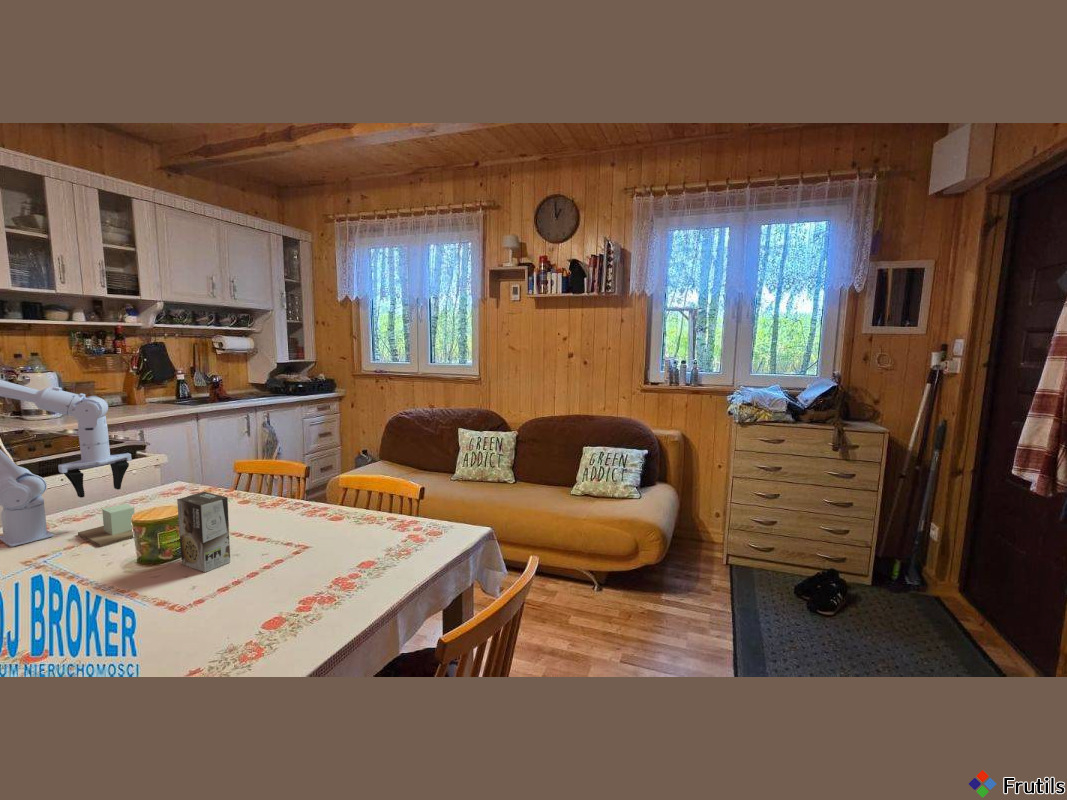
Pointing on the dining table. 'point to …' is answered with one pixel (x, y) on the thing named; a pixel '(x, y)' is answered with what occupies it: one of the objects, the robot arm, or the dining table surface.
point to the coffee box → (204, 531)
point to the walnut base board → (104, 536)
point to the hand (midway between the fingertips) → (99, 492)
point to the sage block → (117, 519)
